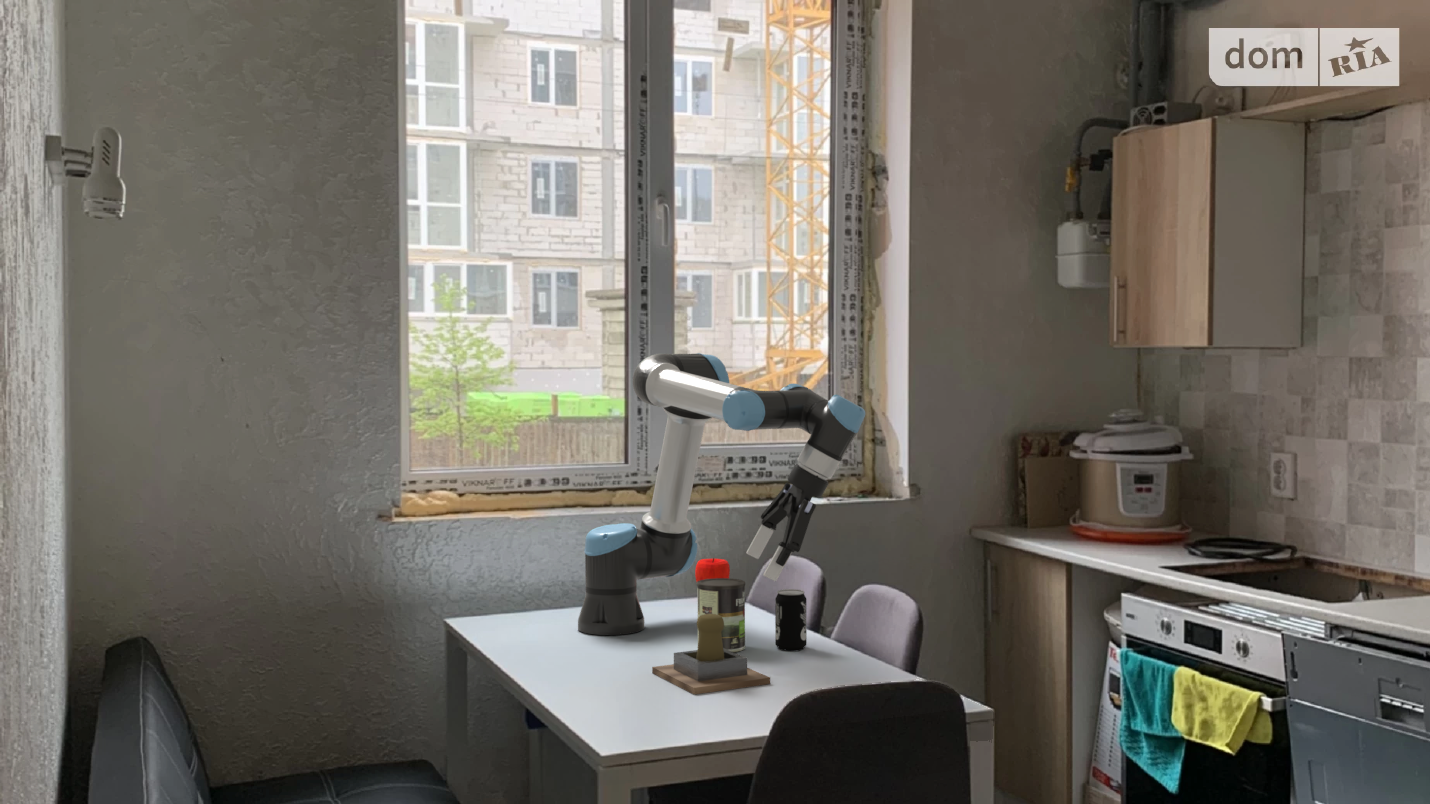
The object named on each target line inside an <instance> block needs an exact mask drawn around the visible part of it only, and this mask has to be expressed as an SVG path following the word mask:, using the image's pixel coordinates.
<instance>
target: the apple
mask: <svg viewBox="0 0 1430 804" xmlns="http://www.w3.org/2000/svg"><path fill="white" fill-rule="evenodd" d="M694 571H695V573H694V576H695V582H696V583H697V582H698V581H700V580H704V579H713V578H729V579H730V573H731V570H730V564H729V562H728V560H727V559H724V558H723V559H721V558H714V557H713V558H703V559H702V558H701V559H699V560H698V561H697V563H696V565H695V570H694Z"/></svg>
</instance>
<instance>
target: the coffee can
mask: <svg viewBox="0 0 1430 804" xmlns="http://www.w3.org/2000/svg"><path fill="white" fill-rule="evenodd" d="M696 587H697V589H696V590H697V591H696V592H697V601H696V602H697V619H698V618H699V616H701V615H704V614H716V615H720V616H721V617H722V618H723V620H724V628H723V630H722V631H721V635H722V643H723V648H725V649H727V650H729V651H732V652H734V653H738V652H741V651H744V650H745V649H746V608H745V607H746V598H745V597H746V591H745V590H746V588H745V587H746V581H745V580H742V579H739V578H738V579H737V578H730V577H729V578H713V579H704V580H700V581H698V582H696ZM699 634H700V632H699V630H698V629H697V643H698V642H699ZM696 648H697V649H698V646H697V647H696Z"/></svg>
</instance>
